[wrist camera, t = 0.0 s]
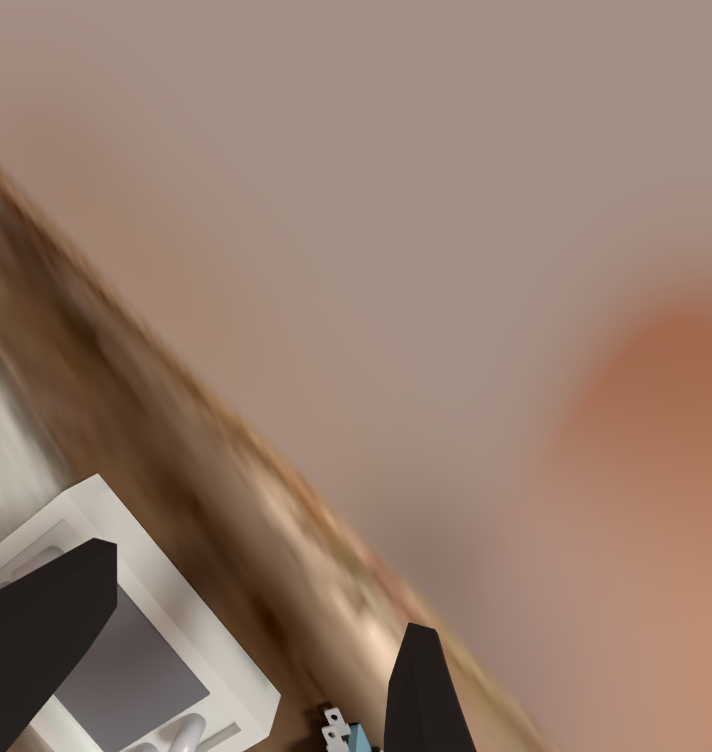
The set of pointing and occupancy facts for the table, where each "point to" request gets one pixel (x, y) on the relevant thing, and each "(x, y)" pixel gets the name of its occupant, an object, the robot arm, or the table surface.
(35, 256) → the table surface
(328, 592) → the table surface
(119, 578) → the pin tray
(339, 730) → the push button
